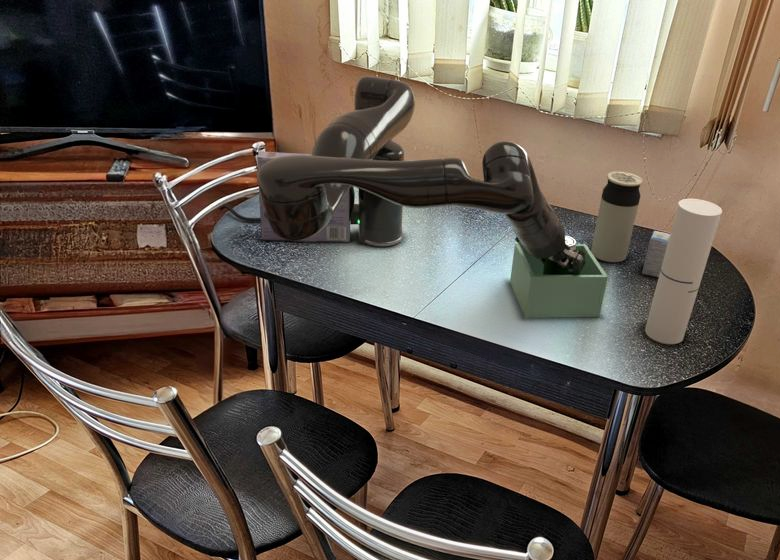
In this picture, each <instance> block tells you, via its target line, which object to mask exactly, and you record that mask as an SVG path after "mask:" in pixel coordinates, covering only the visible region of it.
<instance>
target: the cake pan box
mask: <svg viewBox="0 0 780 560" xmlns="http://www.w3.org/2000/svg"><path fill="white" fill-rule="evenodd" d="M294 155H309V156H312V153H299V152H298V153H294V152H277V151H264V150H263V151H259V152H258V153H257V156H256V157H257V158H256V165H257V171H258V170H259V168H260V167H261V166H262V165H263V164H264V163H266V162H268V161H270V160H272V159H275V158H279V157H284V156H294ZM355 194H356V193H355V187H354V186H351V187H350V189H349V190H348V191H347V193H346V194H345V196H344V197H343V199H342V200H341V202H340V204H339V206H338V208H337V209H336V211H335V213H334V215H333V217H332V218H331V220H330V221H329V223H328V224H327V225H326V226H325V227H324V228H323V229H322V230H321V231H319V232H318V233H316V234H315V235H313V236H311V237H308V238H305V239H302V240H296V241H295V242H307V243H308V242H310V243H311V242H312V243H313V242H314V243H316V242H317V243H318V242H343V243H350V242H351V224H350V217H351V215H352V212H353V209H354V204H355V201H356V199H355V198H356V195H355ZM258 201H259V214H260V215H259V216H260V217H259V218H261V221H260V235H261V236H260V237H261V239H262V241H286V240H285V239H283V238H281V237H279V236H278V235H277V234H275V232H274V231H273V230H272V228H271V226H270V224H269V222H268V219H267V216H266V212H265V208H264V204H263V201H262V197H261V192H260V189H259V188H258ZM289 241H290V242H291V240H289Z"/></svg>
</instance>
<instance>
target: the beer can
mask: <svg viewBox="0 0 780 560" xmlns="http://www.w3.org/2000/svg"><path fill="white" fill-rule="evenodd" d="M565 243H566V244H567V245H568V246H569V247H570V249H571V250H572V251H573V252H575V251H576V245H575V244H577V241H576V239H574V238H573V237H571V236H569V235H566V234H565ZM560 261H561V260H560ZM570 261H571V260H569V262H568V265H569V263H570ZM543 275H569V273H568V272H567V269H565V268H564V267H560V266H558V265H557V264H556V263H555V262H554V261H553V260H550V259H549V258H545V263H544V269H543Z"/></svg>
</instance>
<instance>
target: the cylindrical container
mask: <svg viewBox="0 0 780 560" xmlns="http://www.w3.org/2000/svg"><path fill="white" fill-rule="evenodd" d="M722 214H723V209H722V207H720V206H719V205H717V204H716V203H714V202H711V201H707V200H705V199H701V198H700V199H699V198H683V199H680V200H679V201H678V203H677V207H676V210H675V214H674V219H673V222H672V226H671V231H670V233H669V234H670V237H669V241H668V245H667V248H666V252H665V256H664V260H663V263H662V267H661V271H660V275H659V277H657V278H658V279H657V283H656V286H655V290H654V294H653V298H652V302H651V305H650V309H649V313H648V317H647V321H646V324H645V328H644V333H645V334H646V335H647V336H648V338H650V339H651V340H653V341H655V342H658V343H661V344H664V345H676V344H679V343H680V344H681V342H683V341H684V338H685V334H686V332H687V328H688V325H689V322H690V319H691V316H692V311H693V309H694V305H695V303H696V299H697V295H698V291H699V289H700V286H701V282H702V279H703V276H704V272H705V270H706V266H707V263H708V259H709V256H710V252H711V249H712V246H713V243H714V240H715V237H716V234H717V230H718V227H719V224H720V220H721V216H722Z"/></svg>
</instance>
